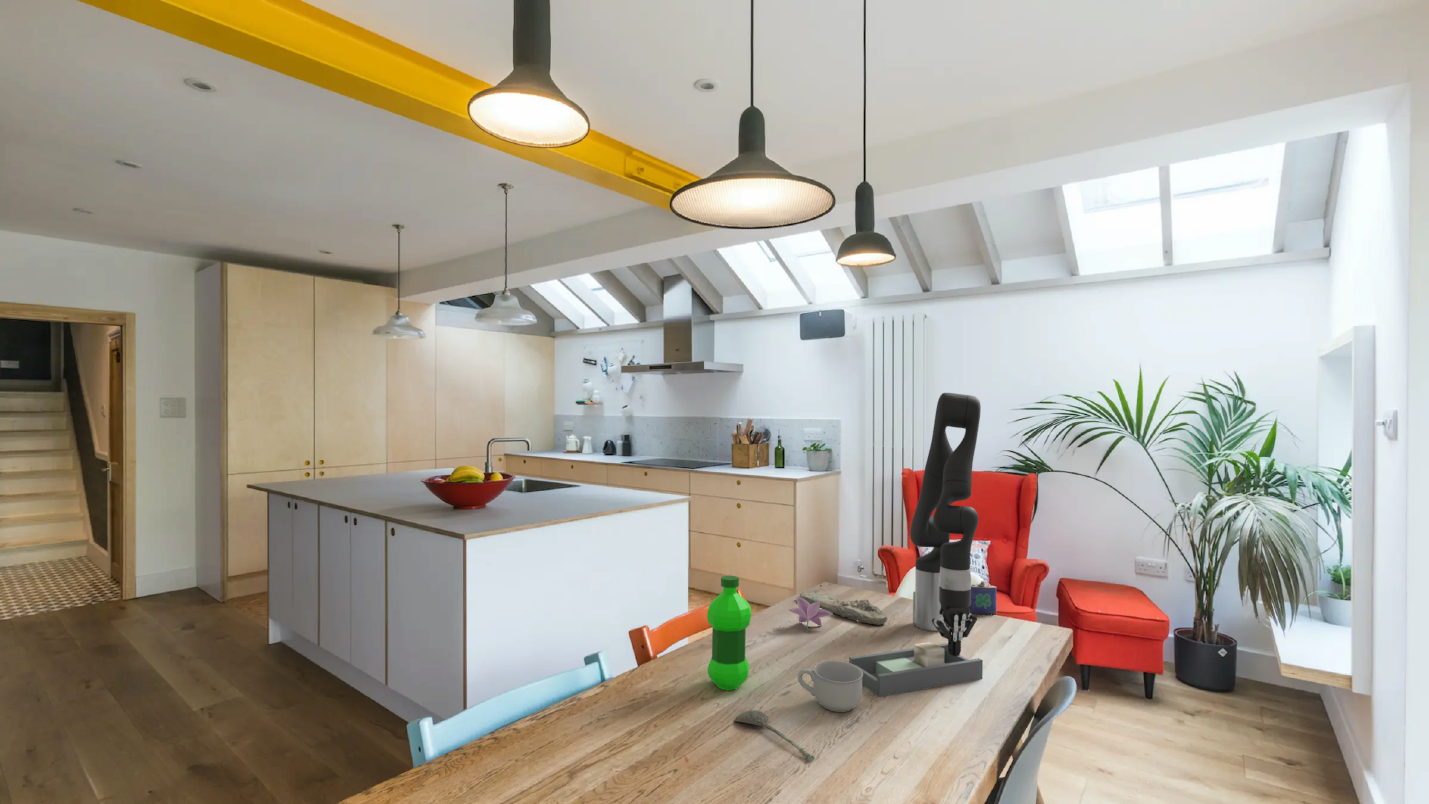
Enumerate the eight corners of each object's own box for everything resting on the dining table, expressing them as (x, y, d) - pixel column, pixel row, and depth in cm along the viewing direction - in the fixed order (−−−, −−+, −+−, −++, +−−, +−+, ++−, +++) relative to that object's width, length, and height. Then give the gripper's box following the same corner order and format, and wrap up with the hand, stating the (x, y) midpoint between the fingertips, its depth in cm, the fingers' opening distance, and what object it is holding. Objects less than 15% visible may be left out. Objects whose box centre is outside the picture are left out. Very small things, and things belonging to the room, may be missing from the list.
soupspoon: (753, 716, 140) (728, 725, 137) (753, 700, 140) (727, 709, 137) (824, 759, 122) (797, 770, 118) (823, 740, 122) (796, 751, 118)
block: (914, 660, 163) (914, 644, 163) (930, 658, 165) (930, 641, 165) (927, 667, 158) (927, 651, 158) (944, 665, 160) (944, 648, 160)
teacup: (865, 700, 147) (865, 664, 147) (859, 721, 136) (859, 682, 137) (803, 690, 151) (804, 655, 151) (793, 710, 141) (794, 672, 141)
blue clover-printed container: (994, 612, 214) (995, 580, 214) (998, 615, 211) (998, 582, 211) (966, 612, 215) (966, 579, 215) (969, 614, 212) (969, 581, 212)
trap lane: (848, 675, 160) (849, 657, 160) (946, 660, 171) (946, 643, 171) (879, 696, 148) (880, 676, 149) (982, 678, 160) (982, 660, 160)
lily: (837, 636, 192) (837, 603, 197) (813, 627, 185) (813, 593, 190) (804, 639, 199) (805, 607, 204) (780, 631, 193) (781, 598, 197)
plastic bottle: (759, 685, 154) (760, 577, 154) (729, 698, 146) (731, 586, 146) (727, 673, 160) (729, 570, 161) (697, 685, 153) (699, 577, 153)
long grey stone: (812, 601, 229) (791, 607, 223) (811, 586, 230) (790, 592, 223) (895, 621, 202) (875, 629, 196) (894, 604, 202) (874, 611, 196)
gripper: (964, 579, 171) (964, 646, 170) (923, 583, 166) (923, 653, 165) (986, 586, 164) (986, 656, 163) (944, 591, 159) (943, 663, 158)
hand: (954, 654), depth 164 cm, fingers closed
